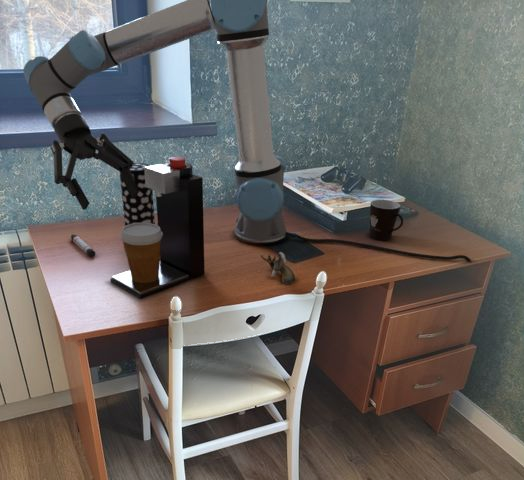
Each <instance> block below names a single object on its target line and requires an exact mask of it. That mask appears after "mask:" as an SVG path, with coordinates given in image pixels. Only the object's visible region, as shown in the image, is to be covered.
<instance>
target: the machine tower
mask: <svg viewBox="0 0 524 480" xmlns="http://www.w3.org/2000/svg"><path fill="white" fill-rule="evenodd" d="M185 164H186V167H183V168H174V169H177V170H180V191H176V192H172V193H168V194H164V196H162V197H157V196H155V204H156V215H157V217H156V218H157V225H158V226H159V227H160V229H161V232H162V233H163V236H162V238H161V245H160V260H159V261H161V262H163V263H165V264H167V265H169V266H171V267H173V268H175V269H177V270H179V271H182V272H184V273H186V274H188V276H190V277H191V280H190V281H192V280H195V279H198V278H201V277H203V276H205V275H206V274H205V273H206V272H205V234H204V233H205V231H204V230H205V229H204V224H205V223H204V183H203V181H204V180H203V179H204V178H203V177H202V176H199V175H196V174H193V173H194V171H193V165H192V164H191V163H189V162H185ZM163 165H164V166H167V167H168V168H169V167H170V164H169V162H166V163H164V164H163ZM171 168H172V167H171Z"/></svg>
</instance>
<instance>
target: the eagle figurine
mask: <svg viewBox="0 0 524 480" xmlns="http://www.w3.org/2000/svg"><path fill="white" fill-rule="evenodd" d="M260 258H261V259H262V260H263V261H265V262H266V263H268V265H269V266H270V268H271V270H272V271H271V276H270V279H273V277H275V276H276V274H277V273H279V272H280V275H281V282H282V284H285V285H292V284H293V283H294V282H295V281H296V275H295V273H294V272H293V270H292V269H291V268H290V267H289V266H287V264H285V263H286V262H287V260H286V255H285V253H283V251H279V252H278V256H277V257H276V254H273V258H272V257H271V254H269V255H267V258H266V257H264V256H263V255H262V254H261V255H260ZM277 258H278V259H277Z"/></svg>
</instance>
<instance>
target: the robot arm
mask: <svg viewBox="0 0 524 480" xmlns="http://www.w3.org/2000/svg"><path fill="white" fill-rule="evenodd" d="M267 4H268V0H183V1H180V2H178V3H176V4H173V5H171V6H167V7H165V8H162V9H160V10H158V11H155V12H153V13H150V14H148V15H145V16H143V17H140V18H137V19H135V20H132V21H129V22H127V23H125V24H122V25H119V26H117V27H114V28H112V29H109V30H107V31H104V32H100V33H99V34H95V35H93V34H92V33H91V32H89V31H87V30H86V29H81V30H80V31H78V32H77V33H76V34H74V36H71V37H70V38H69V40H68V41H67V42H66V43H65V44H64V45H63V46H62V47H61V48H60V49H59V50H58V51H57V52H56V53H55V54H54V55H52V57H50V58H49V57H47V56H42V55H40V56H35V57H34V58H33V59H29V60H27V62H26V63H25V65H24V66H23V71H22V72H23V77H24V78H25V80H26V83H27V85H28V87H29V90H30V91H31V93H32V94H33V96H34V97H35V99H36V101H37V103H38V104H39V106H40V108H41V110H42V111H43V113H44V115H45V117H46V119H47V120H48V122H49V124H50V125H51V128H52V129H53V131H54V133H55V135H56V136H57V139H58V140H59V141H58V140H55V139H54V140H53V142H52V143H51V147H50V150H51V153H52V155H53V174H54V175H53V178H54V179H53V181H54V183H55V184H56V185H60V184H62V186H63V188H66V189H67V191H68V192H69V193H70V195H71V197H75V198H76V200H77V201H78V203H79V205H80V207H81V209H82V210H83V211H84V210H87V209H88V207H89V205H90V201H89V200H88V198H87V196H86V194H85V192H84V191H83V189H82V187H81V185H80V184H79V181H78V180H77V178H76V177H75V178H72V177H73V173H74V170H75V166H76V164H77V163H76V162H77V160H80V161H84V160H86V159H88V160H89V159H93V158H94V159H95V160H100V161H101V162H103V163H104V164H106V165H108V166H110V167H111V168H113V169H114V170H116V171H118V172H119V171H120V172H121V174H120V172H119V177H120V176H121V178H122V180H123V182H124V183H125V185H126V187H127V189H128V190H129V192H130V194H131V196H132V198H135V197H136V196H137V194H138V193H139V190H138V188H137V186H136V185H135V183H134V181H135V178H134V177H133V175H132V173H131V171H130V169H131V167H132V166H133V164H134V163H135V162H134V161H133V160H132V159H131V158H130V157H129V156H128V155H126V153H124V152H123V151H122V150H120V149H119V148H118V146H116V145H115V144H113V142H112V141H110V139H109V138H108V137H107V135H106V134H105V133H101V134H100V136H97V137H95V136H94V135H93V134H92V131H91V129H90V126H89V125H88V123H87V121H86V119H85V117H84V116H83V114H82V112H81V110H80V108H79V107H78V105H77V103H76V102H75V100H74V98H73V96H72V94H71V92H72V91H73V90H74V89H75V88H76V87H78V86H79V84H80V83H82V82H83V81H84V80H85V79H87V78H88V77H90V76H92V75H95V74H97V73H102V72H105V71H107V70H109V69H112V68H114V67H117V66H120V65H122V64H125V63H127V62H130V61H132V60H135V59H138V58H140V57H144V56H146V55H149V54H152V53H154V52H158V51H160V50H162V49H165V48H168V47H171V46H173V45H174V46H175V45H176V44H179V43H182V42H185V41H188V40H190V39H193V38H196V37H199V36H201V35H203V34H206V33H209V32H211V31H213V32H215V33H216V40H217V44H218V45H219V46H220V47H221V48H222V49H223V50H224V51H225V59H226V64H227V65H226V66H227V74H228V81H229V88H230V97H231V104H232V112H233V119H234V120H233V121H234V127H235V135H236V141H237V142H236V143H237V150H238V151H237V152H238V161H237V163H236V164H235V166H234V175H235V182H236V189H237V191H236V198H235V199H236V204H237V208H238V210H239V215H238V217H237V218H236V221H235V225H234V238H235V239H237V240H238V241H239V242H242V243H245V244H248V245H253V246H271V245H277V244H280V243H282V242H284V241H285V240H286V239H287V236H288V237H291V238H295V237H297V238H296V239H298V240H301V241H304V242H309V243H337V244H345V245H346V244H347V245H353V246H358V247H364V248H368V249H374V250H379V251H384V252H388V253H393V254H399V255H404V256H409V257H416V258H417V257H418V258H423V259H431V260H432V259H434V260H444V261H451V260H459V259H463V260H466V262H468V263H472V260H471V258H470V257H468V256H466V255H464V254H457V255H452V256H444V255H443V256H442V255H433V254H432V255H431V254H423V253H422V254H421V253H416V252H410V251H404V250H399V249H393V248H388V247H383V246H378V245H374V244H369V243H363V242H359V241H358V242H357V241H351V240H345V239H334V238H310V237H305V236H302V235H298V234H294V233H291V232H287V227H286V223H285V219H284V216H283V211H282V209H283V206H284V203H285V195H284V178H285V177H284V175H285V169H286V166H285V159H284V158H283V157H282V156H280V155H274V144H273V134H272V122H271V112H270V101H269V90H268V80H267V71H266V60H265V59H266V58H265V50H264V46H265V43H266V42H267V40H268V39H269V38H270V28H269V18H268V17H269V16H268V7H267ZM63 151H65V152H66V153H68V154H70V155H69V159H68V163H67V167H66V170H65V174H63ZM122 167H123V168H122ZM284 237H285V238H284Z"/></svg>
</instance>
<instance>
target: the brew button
mask: <svg viewBox="0 0 524 480" xmlns="http://www.w3.org/2000/svg"><path fill="white" fill-rule="evenodd" d="M168 159H169V160H168V161H169V162H168V163H169V164H170V167H172V168H183V167H186V164H185V163H186V157H183V156H171V157H169V158H168Z"/></svg>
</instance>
